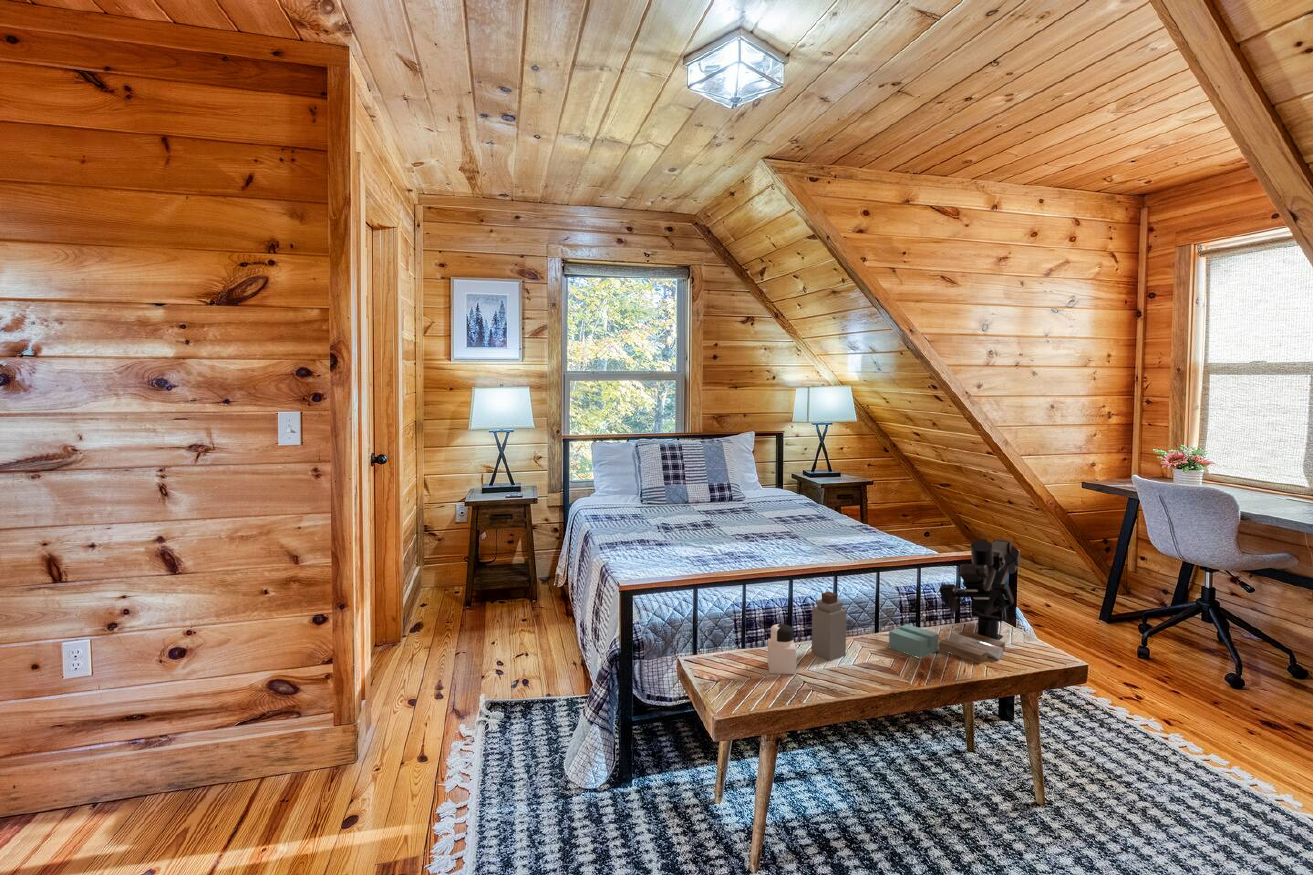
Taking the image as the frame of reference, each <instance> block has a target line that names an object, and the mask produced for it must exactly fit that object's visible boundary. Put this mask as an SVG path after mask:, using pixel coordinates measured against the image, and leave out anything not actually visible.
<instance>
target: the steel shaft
mask: <svg viewBox="0 0 1313 875" xmlns="http://www.w3.org/2000/svg"><path fill="white" fill-rule="evenodd" d="M949 640H952V641H955V642H958V643H962V644H965V645H968V646H971V647H974V648H977V649H980V650H984V651H987V658H988V657H989V658H992V659H994V660H998V661H999V660H1001V659H1002V658H1003V657H1004V656H1003V655H1004V651H1003V648H1002V647H998V646H995V645H992V644H989V643H985V642H982V641H979V640H975V639H972V638H969V637H966V636H962V635H959V634H958V633H955V632H952V633H951V634H950V635H949Z"/></svg>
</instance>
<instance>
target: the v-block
mask: <svg viewBox="0 0 1313 875" xmlns="http://www.w3.org/2000/svg"><path fill="white" fill-rule="evenodd" d="M889 647H890V648H889ZM888 648H889V649H891V648H893V649H892V650H894V649H895V651H897V650H898V651H897V652H900V653H903V652H905V653H908V654H910V655H909V656H911V655H913V656H912V657H914V656H917V657H919V658H921V657H923V656H925V657H927V656H929V655H931V654H930V653H932V652H934V653H936V652H937V650H938V651H939V633H936V632H935V631H931V630H927V629H924V628H921V627H917V626H914V625H912V624H908V623H906V624H904V625H902V626H900V629H899V628H894V629H892V630H889V632H888ZM905 653H904V654H905ZM908 654H907V655H908ZM928 654H929V655H928ZM932 654H933V653H932ZM926 655H927V656H926ZM917 657H916V658H917ZM919 658H918V659H919ZM923 658H924V657H923ZM921 659H922V658H921Z"/></svg>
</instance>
